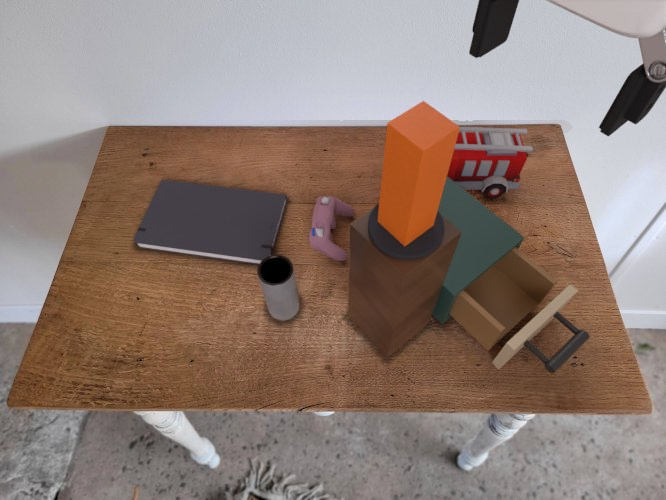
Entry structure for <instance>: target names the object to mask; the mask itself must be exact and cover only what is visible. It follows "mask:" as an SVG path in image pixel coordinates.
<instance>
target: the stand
mask: <svg viewBox="0 0 666 500" xmlns="http://www.w3.org/2000/svg"><path fill="white" fill-rule="evenodd" d="M373 209H374V207H373V208H371V209H370V210H367V212H366V213H363V215H361V216H360V217H358V218H357V219H354V220H353V221H352V222H351V223H350V224H349V252H348V253H349V254H348V299H347V300H348V302H347V304H348V305H347V307H348V308H347V317H348V318H349V319H350V321H352V322H353V323H354V325H355V326H357V328H358V329H359V330H360V331H361V332H362V333H363V334H364V335H365V337H366V338H368V340H369V341H370V342H371V343H372V344H373V345H374V347H375V348H377V350H379V352H380V353H381V354H382V355H383V356H384V357H385V358H386V359H388V358H389V357H390V356H392V354H394V353H395V352H396V351H397V350H399V349H400V348H401V347H402V346H404V345H405V344H406V343H407V342H408V341H410V340H411V339H412V338H413V337H415V336H416V335H417V334H418V333H419V332H420V331H422V330H423V329H424V328H425V327H427V326H428V325H429V324H430V323H431V320H432V316H433V315H432V314H433V311H434V308H435V305H436V303H437V300H438V297H439V294H440V292H441V289H442V286H443V283H444V281H445V278H446V275H447V272H448V269H449V267H450V264H451V261H452V258H453V256H454V253H455V250H456V247H457V244H458V242H459V239H460V236H461V233H462V232H461V231H460V230H459V229H458V228H457V227H456V226H454V225H453V224H452V223H451V222H450V221H448V220H447V219H446V218H445V217H444V216H442V215H441V216H442V218H443V221H444V235H443V238H442V241H441V243H440V244H439V246H438V247H437V248H436V249H435V250H434V251H433V252H432V253H430V254H428V255H426V256H424V257H421V258H417V259H399V258H395V257H392V256H390V255H388V254H386V253H384V252H383V251H381V250H380V249H379V248H378V247H377V246H376V245H375V244H374V243H373V241H372V240H371V238H370V235H369V231H368V221H369V216H370V214H371V212H372V210H373Z"/></svg>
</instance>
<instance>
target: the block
mask: <svg viewBox="0 0 666 500" xmlns="http://www.w3.org/2000/svg"><path fill="white" fill-rule="evenodd" d="M460 127H461V126H460V125H458V124H456V123H455V122H454V121H452V120H451V119H449V118H448V117H447V116H446V115H444V114H443V113H441V112H440V111H438V110H437V109H436V108H434V106H432V105H430V104H429V103H427V102H426V101H424V100H422V101H421V102H419V103H417V104H416V105H414V106H412V107H410V108H409V109H408V110H406V111H404V112H403V113H401V114H399V115H398V116H396V117H395V118H392V119H391V120H390V121H388V122H387V123H386V132H385V133H386V134H385V141H384V142H385V144H384V152H383V161H382V162H383V163H382V170H381V171H382V172H381V180H380V181H381V182H380V192H379V202H378V204H379V211H378V222H379V223H380V224H381V225H382V226H383V227H384V228H385V229H386V230H387V231H388V232H389V233H391V234H392V235H393V236H394V237H395V238H396V239H397V240H398V241H399V242H400V243H401V244H403V245H404V246H406V245H408V244H409V243H411V242H412V241H413V240H415V239H416V238H417V237H419V236H420V235H421V234H423V233H424V232H425V231H427V230H428V229H429V228H431V227H432V226H433V225H434V222H435V219H436V215H437V211H438V207H439V204H440V200H441V196H442V193H443V189H444V185H445V181H446V178H447V174H448V170H449V167H450V163H451V159H452V155H453V152H454V148H455V144H456V141H457V137H458V133H459V129H460Z"/></svg>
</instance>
